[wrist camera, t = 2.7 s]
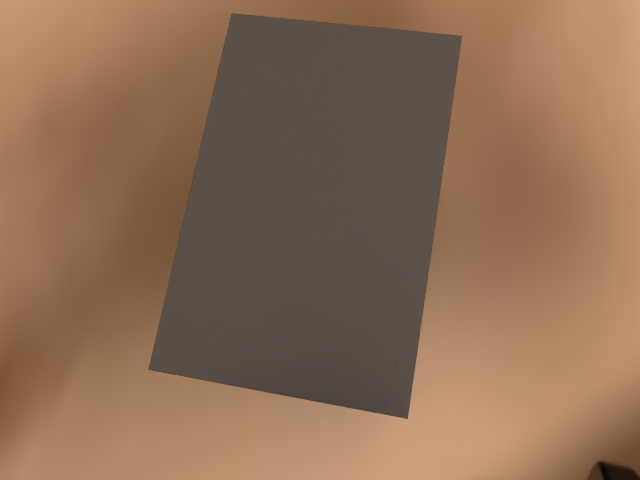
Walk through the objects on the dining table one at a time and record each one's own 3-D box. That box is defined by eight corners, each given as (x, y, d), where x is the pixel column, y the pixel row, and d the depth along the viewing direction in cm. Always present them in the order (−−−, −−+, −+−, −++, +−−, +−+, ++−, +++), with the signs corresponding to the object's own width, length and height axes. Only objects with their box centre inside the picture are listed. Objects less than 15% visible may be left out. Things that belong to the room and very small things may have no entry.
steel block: (256, 376, 19) (149, 369, 11) (296, 169, 21) (231, 13, 12) (397, 402, 19) (407, 418, 10) (428, 187, 20) (462, 36, 11)
